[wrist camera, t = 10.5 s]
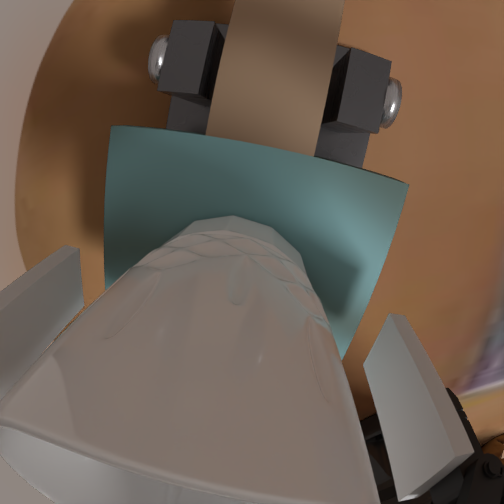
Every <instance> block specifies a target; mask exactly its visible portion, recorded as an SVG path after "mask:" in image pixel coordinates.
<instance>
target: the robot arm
mask: <svg viewBox="0 0 504 504" xmlns="http://www.w3.org/2000/svg"><path fill="white" fill-rule="evenodd" d="M83 307H84V299H83V290H82V279H81V266H80V249H79V248H75V247H71V246H68V245H64V246H63V247H61V248H60V249H58V250H57V251H56V252H54V253H53V254H51V255H50V256H48V257H47V258H45V259H44V260H42V261H41V262H40V263H38V264H37V265H35V266H34V267H33V268H31V269H30V270H28V271H27V272H26V273H25V274H23V275H22V276H20V277H19V278H18V279H16V280H15V281H14V282H12V283H11V284H10V285H8V286H7V287H6V288H5V289H3V290H2V291H1V292H0V400H1V399H2V398H3V396H4V395H5V394H6V393H7V392H8V391H9V390H10V388H11V387H12V386H13V385H14V384H15V383H16V382H17V381H18V379H19V378H20V377H21V376H22V375H23V374H24V373H25V372H26V371H27V370H28V368H29V367H30V366H31V365H32V364H33V363H34V362H35V361H36V360H37V359H38V358H39V356H40V355H41V354H42V353H43V351H44V350H45V349H46V348H47V347H48V346H49V345H50V343H51V342H52V341H53V340H54V339H55V338H56V337H57V335H58V334H59V333H60V332H61V331H62V330H63V329H64V327H65V326H66V325H67V324H68V323H69V322H70V321H71V320H72V319H73V317H74V316H75V315H76V314H77V313H78V312H79V311H80V310H81V309H82V308H83ZM363 367H364V370H365V373H366V376H367V380H368V383H369V386H370V390H371V393H372V396H373V400H374V403H375V407H376V410H377V414H376V415H373V416H371V417H369V418H367V419H365V420H363V421H361V422H360V424H361V427H362V431H363V435H364V439H365V442H366V446H367V450H368V454H369V457H370V461H371V465H372V469H373V473H374V477H375V481H376V485H377V489H378V494H379V498H380V502H381V504H504V465H503V463H502V462H501V461H500V459H499V458H498V457H497V456H495V455H494V454H490V453H486V454H484V453H483V451H482V449H481V446H480V444H479V442H478V440H477V437H476V435H475V433H474V431H473V429H472V426H471V424H470V422H469V420H467V416H466V414H465V412H464V411H463V408H462V406H461V404H460V402H459V400H458V398H457V397H456V396H455V394H454V393H453V392H452V391H451V390H450V389H449V388H445V387H444V385H443V383H442V381H441V379H440V377H439V375H438V373H437V371H436V370H435V368H434V366H433V364H432V362H431V360H430V358H429V357H428V355H427V353H426V351H425V349H424V348H423V346H422V344H421V342H420V341H419V339H418V337H417V335H416V334H415V332H414V330H413V329H412V327H411V325H410V324H409V322H408V320H407V319H406V317H405V316H404V315H398V314H392V313H389V314H388V316H387V319H386V321H385V323H384V325H383V327H382V329H381V331H380V333H379V335H378V337H377V339H376V341H375V343H374V345H373V347H372V349H371V351H370V353H369V354H368V356H367V358H366V360H365V362H364V364H363Z"/></svg>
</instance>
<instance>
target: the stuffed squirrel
mask: <svg viewBox="0 0 504 504" xmlns="http://www.w3.org/2000/svg"><path fill="white" fill-rule="evenodd" d="M481 449H482V451H483V453H484V454H486V453H490V454H494V455H495V456H497V457H498V458H499V459H500V461H501V462H502V463H503V465H504V459H501V457H502V453H503V450H504V434H502V435H500V436H498V437H496V438H494V439H492V440H491V441H489V442H488V443H487V444H485V445H484V446H483V447H481Z"/></svg>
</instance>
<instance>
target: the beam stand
mask: <svg viewBox="0 0 504 504" xmlns="http://www.w3.org/2000/svg"><path fill="white" fill-rule="evenodd" d="M228 27H229V25H227V24H216V23H215V22H214V21H194V20H174V21H173V25H172V28H171V32H170V35H160V36H158V37H157V38H156V39H155V41H154V43H153V45H152V47H151V50H150V54H149V59H148V72H149V77H150V79H151V81H152V82H153V83H154V84H158V89H157V91H160V92H163V93H166V94H169V95H172V98H171V103H170V109H169V114H168V120H167V126H166V129H171V130H180V131H188V132H195V133H202V134H206V129H207V124H208V118H209V113H210V108H211V103H212V98H213V93H214V88H215V83H216V79H217V74H218V69H219V65H220V60H221V56H222V52H223V47H224V43H225V39H226V35H227V31H228ZM391 63H392V61H389V60H386V59H384V58H381V57H378V56H376V55H373V54H370V53H367V52H364V51H361V50H358V49H355V48H352V47H351V48H350V49H349V48H345V47H342V46H339V45H337V47H336V53H335V58H334V63H333V68H332V73H331V78H330V83H329V88H328V93H327V98H326V103H325V108H324V112H323V117H322V122H321V126H320V131H319V135H318V140H317V144H316V149H315V153H314V155H315V156H319V157H323V158H327V159H330V160H334V161H338V162H342V163H345V164H349V165H352V166H356V167H359V168H362V165H363V161H364V157H365V153H366V149H367V145H368V140H369V136H370V133H374V134H378V132H379V127H381V128H385V129H386V128H388V127H390V126H391V124H392V123H393V122H394V120H395V118H396V116H397V114H398V111H399V108H400V104H401V98H402V87H401V83H400V82H399V80H397V79H394V78H392V77H389V75H390V69H391Z"/></svg>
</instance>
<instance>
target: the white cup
mask: <svg viewBox="0 0 504 504" xmlns="http://www.w3.org/2000/svg"><path fill="white" fill-rule="evenodd" d="M0 456H1V457H2V458H3V459H4V460H5V461H6V463H7V464H8V465H9V466H10V467H12V469H13V470H14V471H15V472H16V473H17V474H18V475H19V476H21V477H22V478H23V479H24V480H25V481H26V482H28V483H29V484H30V485H31V486H32V487H33V488H35V489H36V490H37V491H39V492H40V493H41V494H43V495H44V496H45V497H47V498H48V499H50V500H51V501H52V502H54V503H55V504H381V502H380V498H379V494H378V489H377V485H376V481H375V477H374V473H373V469H372V465H371V461H370V457H369V454H368V450H367V446H366V442H365V439H364V435H363V431H362V427H361V424H360V420H359V417H358V413H357V409H356V406H355V402H354V399H353V395H352V392H351V389H350V386H349V383H348V380H347V377H346V373H345V370H344V367H343V364H342V360H341V357H340V354H339V351H338V348H337V344H336V341H335V338H334V335H333V331H332V328H331V326H330V324H329V321H328V319H327V316H326V314H325V312H324V309H323V306H322V303H321V300H320V298H319V297H318V295H317V294H316V293H315V291H314V289H313V287H312V285H311V282H310V279H309V277H308V274H307V271H306V268H305V265H304V262H303V259H302V257H301V254H300V253H299V252H298V251H297V250H296V249H295V248H294V247H293V246H292V245H291V244H290V243H289V242H288V241H287V240H285V239H284V238H283V237H282V236H281V235H280V234H279V233H278V232H277V231H276V230H275V229H274V228H272V227H270V226H267V225H264V224H261V223H257V222H254V221H251V220H248V219H244V218H241V217H238V216H235V215H231V216H224V217H217V218H210V219H203V220H196V221H194V222H192V223H191V224H190V225H188V226H187V227H185V228H184V229H183V230H181V231H180V232H178V233H177V234H176V235H174V236H173V237H172V238H170V239H169V240H168V241H166V242H165V243H164V244H163V245H162V246H161V247H160V248H157V249H154V250H152V251H151V252H150V253H148V254H147V255H146V256H145V257H144V258H143V259H141V260H140V261H139V262H138V263H137V264H136V265H134V266H133V267H131V268H129V269H128V270H127V271H126V272H125V273H124V274H123V275H122V276H121V277H120V278H118V279H117V280H116V281H115V282H114V283H113V284H112V285H111V286H110V287H109V288H108V289H106V290H105V291H104V292H103V293H102V294H101V295H100V296H99V297H98V298H97V299H96V300H95V301H94V302H93V303H92V304H91V305H90V306H89V307H88V308H87V309H86V310H85V311H84V312H83V313H82V314H81V315H80V316H78V317H77V318H76V319H75V320H74V321H73V322H72V323H71V324H70V325H69V327H68V328H67V329H66V330H65V331H64V332H63V333H62V334H61V335H60V336H59V337H58V338H57V339H56V340H55V341H54V342H53V343H52V344H51V345H50V346H49V347H48V348H47V349H46V350H45V351H44V352H43V353H42V355H41V356H40V357H39V358H38V359H37V360H36V361H35V362H34V363H33V364H32V365H31V366H30V367H29V368H28V370H27V371H26V372H25V373H24V374H23V375H22V376H21V377H20V378H19V379H18V381H17V382H16V383H15V384H14V385H13V386H12V387H11V388H10V390H9V391H8V392H7V393H6V394H5V395H4V396H3V398H2V399H1V400H0Z"/></svg>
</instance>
